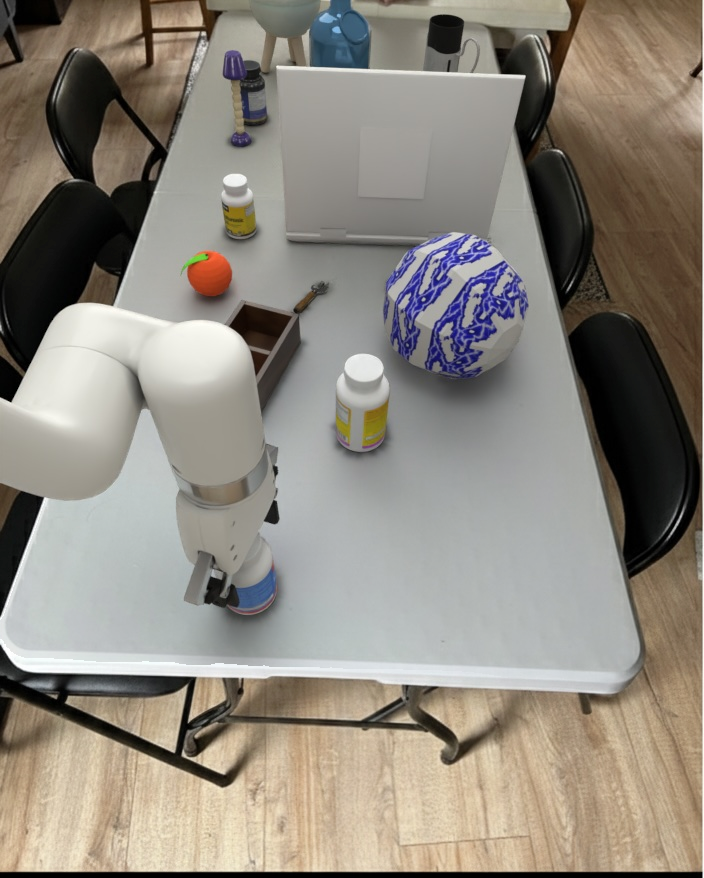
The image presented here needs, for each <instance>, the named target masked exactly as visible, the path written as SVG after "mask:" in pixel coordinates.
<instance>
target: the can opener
mask: <svg viewBox="0 0 704 878" xmlns="http://www.w3.org/2000/svg"><path fill="white" fill-rule="evenodd" d="M315 286H316V284H312V285H311V286H310V289H311V291H308V293H307V294H306V295H305V296H304V298H302V299H301V300H300V301H298V303H297V304H296V305H295V306H294V307H293V308H292V311H293V312H292V313H295V314H299V313H300V312H302V311H303V309H305V308H306V307H307V306H308V304H309V303H310V301H312V300H313V298H315V297H316V295H317V294H323V293H326V292H327V291H328V289H329V287H330V284H329V282H327V283H326V282H325V281H323V280H321V281H320V282H319V283H318V285H317V286H316V287H315Z"/></svg>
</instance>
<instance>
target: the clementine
mask: <svg viewBox="0 0 704 878" xmlns="http://www.w3.org/2000/svg"><path fill="white" fill-rule="evenodd" d="M185 269H186V275H187V276H186V277H187V280H188V282H189V285H190V286H191V288H192V289H194V291H195V292H196V293H199V294H200V295H202V296H205V297H216V296H219V295H222V294H223V293H225V292H226V291H227V289H228V288H229V287H230V285H231V283H232V281H233V270H232V267H231V263H230V262H229V261H228V259H227V258H226V257H225V256H223V255H222V254H221V253H219V252H217V251H213V250H203V251H200V252H198V253H195V255H194V256H193V257H191V258H189V260H188V261H187V262H186V263H184V265H183V267H182V268H181V271H180V272H181V273H180V275H182V274H183V271H184V270H185Z"/></svg>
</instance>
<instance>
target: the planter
mask: <svg viewBox="0 0 704 878" xmlns="http://www.w3.org/2000/svg"><path fill="white" fill-rule="evenodd" d="M248 5H249V9H250V11H251V13H252V17H253V18H254V19H255V22H256V23H257V24H258V25H259V27H260V28H262V29H263V30H264V32H265V38H264V45H263V51H262V58H261V63H260V69H261V73H265V74H266V73H269V72H270V70H271V65H272V61H273V57H274V54H275V53H274V52H275V47H276V41H277V38H278V39H286V40H287V47H288V51H289V57H290V60H291V61H292V62H295V64H296V66H299V67H308V66H307V61H306V55H305V49H304V41H303V36H304V35H305V34H307V33H308V31H309V30H310V27H311V25H312V22H313V20H314V18H315V17H316V15H317V14H319V13H320V9H321V0H248Z"/></svg>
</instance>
